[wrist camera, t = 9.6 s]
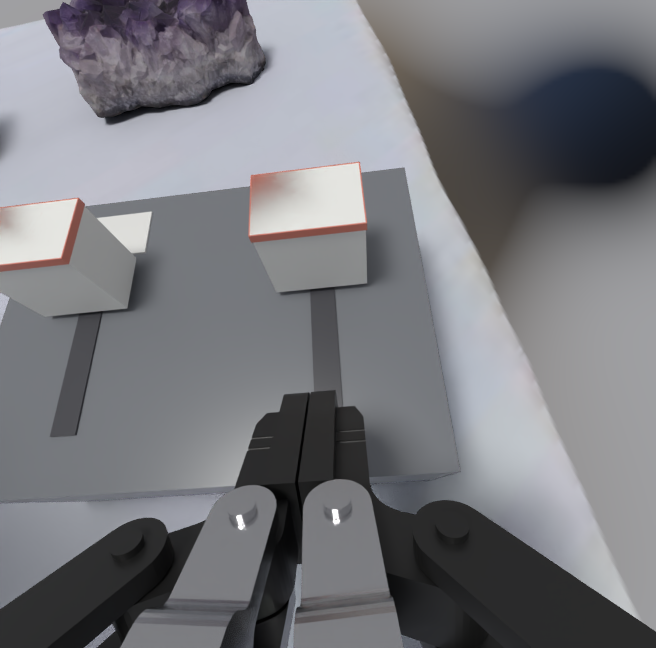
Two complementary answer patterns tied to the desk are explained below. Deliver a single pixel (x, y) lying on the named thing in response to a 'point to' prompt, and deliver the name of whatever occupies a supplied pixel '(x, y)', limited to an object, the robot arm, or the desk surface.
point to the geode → (155, 50)
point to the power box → (219, 358)
